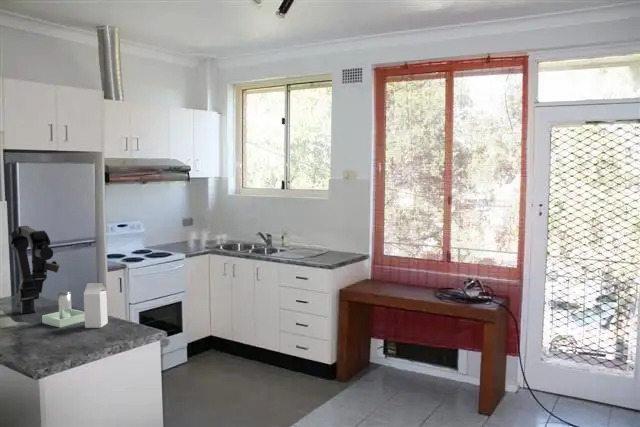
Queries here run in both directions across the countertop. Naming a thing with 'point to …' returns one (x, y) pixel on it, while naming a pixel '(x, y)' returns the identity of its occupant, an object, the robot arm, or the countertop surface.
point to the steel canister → (64, 304)
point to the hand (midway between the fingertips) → (40, 291)
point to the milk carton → (95, 305)
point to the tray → (55, 321)
